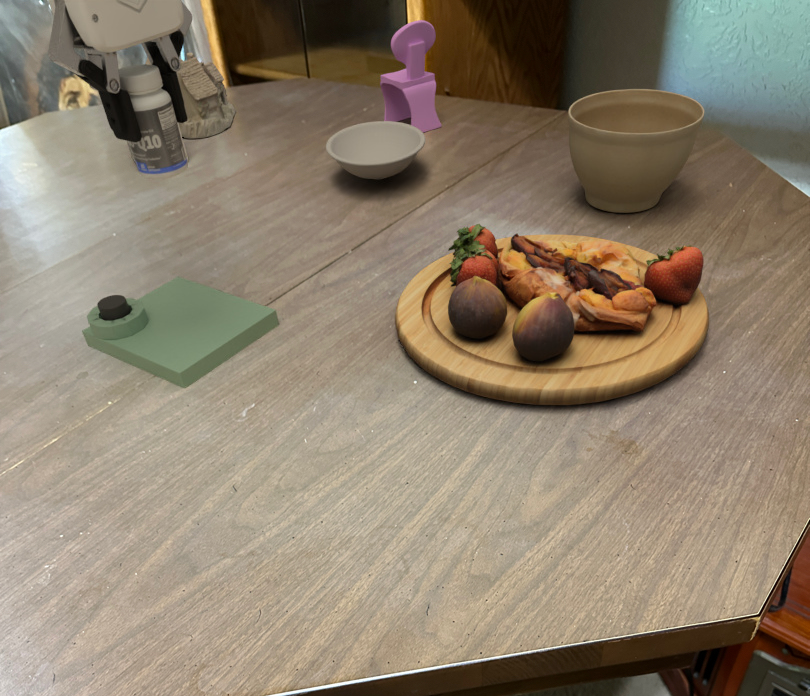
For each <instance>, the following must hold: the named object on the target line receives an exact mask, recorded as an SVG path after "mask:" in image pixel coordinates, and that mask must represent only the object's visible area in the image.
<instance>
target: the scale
mask: <svg viewBox="0 0 810 696" xmlns="http://www.w3.org/2000/svg"><path fill="white" fill-rule="evenodd" d="M125 298H126V297H125ZM126 301H127V303H128V306H129V309H130V311H131V312H130V314H129V315H127V316H125V317H123V318H121V319H117V320H113V321H105V320H103V318H102V316H101V314H100V311H99V309H98V306H97V305H96V306H94V307H93V308H92V309H91V310H90V311H89V313H87V315H86V318H87V322H88V325H89V326H88V327H86V328H85V329H83V330H81V333H82V335H83V337H84V339H85V342H86V344H87V346H88V347H90V348H93V349H95V350H97V351H99V352H101V353H103V354H106V355H108V356H110V357H113V358H115V359H117V360H119V361H122V362H124V363H126V364H128V365H131V366H132V367H136V368H137V369H139V370H142V371H145V372H147V373H148V374H151V375H154V376H156V377H158V378H160V379H163V380H165V381H167V382H169V383H171V384H174V385H176V386H178V387H181V388H183V389H186V388H188V387H189V386H191V385H192V384H194V383H195V382H196V381H197V382H198V380H200V379H201V378H203V377H204V376H207V374H209V373H210V372H212V371H213V370H215V369H216V368H218V367H219V366H220V365H222V364H223V363H225V362H226V361H228V360H229V359H231V358H233V357H234V356H236V355H237V354H239V353H240V352H241V351H243V350H244V349H246V348H247V347H249V346H250V345H252V344H253V343H255V342H256V341H258V340H259V339H261V338H262V337H263V336H265V335H267V334H268V333H269V332H271V331H272V330H274V329H276V327H278V326H280V322H279V318H278V317H279V316H278V313H277V310H276V309H275V308H273V307H269V306H266V305H264V304H260V303H257V302H254V301H252V300H249V299H245V298H243V297H239V296H237V295H234V294H231V293H229V292H225V291H222V290H220V289H216V288H213V287H211V286H208V285H204V284H202V283H199V282H195V281H193V280H189V279H186V278H184V277H182V276H177V277H175V278H173V279H171V280H169V281H168V282H165V283H164V284H162V285H161V286H159V287H157V288H155V289H154V290H152V291H150V292H148V293H146V294H144V295H143V296H141V297H139V298H138V299H135V298H133V297H127V298H126Z"/></svg>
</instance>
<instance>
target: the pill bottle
mask: <svg viewBox="0 0 810 696" xmlns="http://www.w3.org/2000/svg"><path fill="white" fill-rule="evenodd" d="M118 69H119V78H120V88H121V90H126V91H127V92H128V93H129V95H130V98H131V102H132V105H133V108H134V112H135V115H136V118H137V121H138V125H139V128H140V131H141V135H142V138H141V141H138V142H136V143H135V142H131V141H129V143H130V146H131V149H132V152H133V155H134V159H135V161H134V162H135V165H136V168H137V171H138V173H139V175H140V176H141V177H143V178H145V179H151V180H165V179H169V178H173V177H176V176H179V175H181V174H182V173H184V172H185V171H187V168H189V162H188V161H187V158H186V155H185V151H184V147H183V143H182V140H181V136H180V132H179V128H178V124H177V120H176V116H175V112H174V109H173V105H172V101H171V97H170V95H169V94H168V92H166V91H165V90H163V89H161V87H162V86H163V83H162V79H161V75H160V72H159V68H158V67H157V66H155V65H148V64H146V63H144V64H143V63H142V64H133V65H128V66H124V67H120V68H118Z"/></svg>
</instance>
